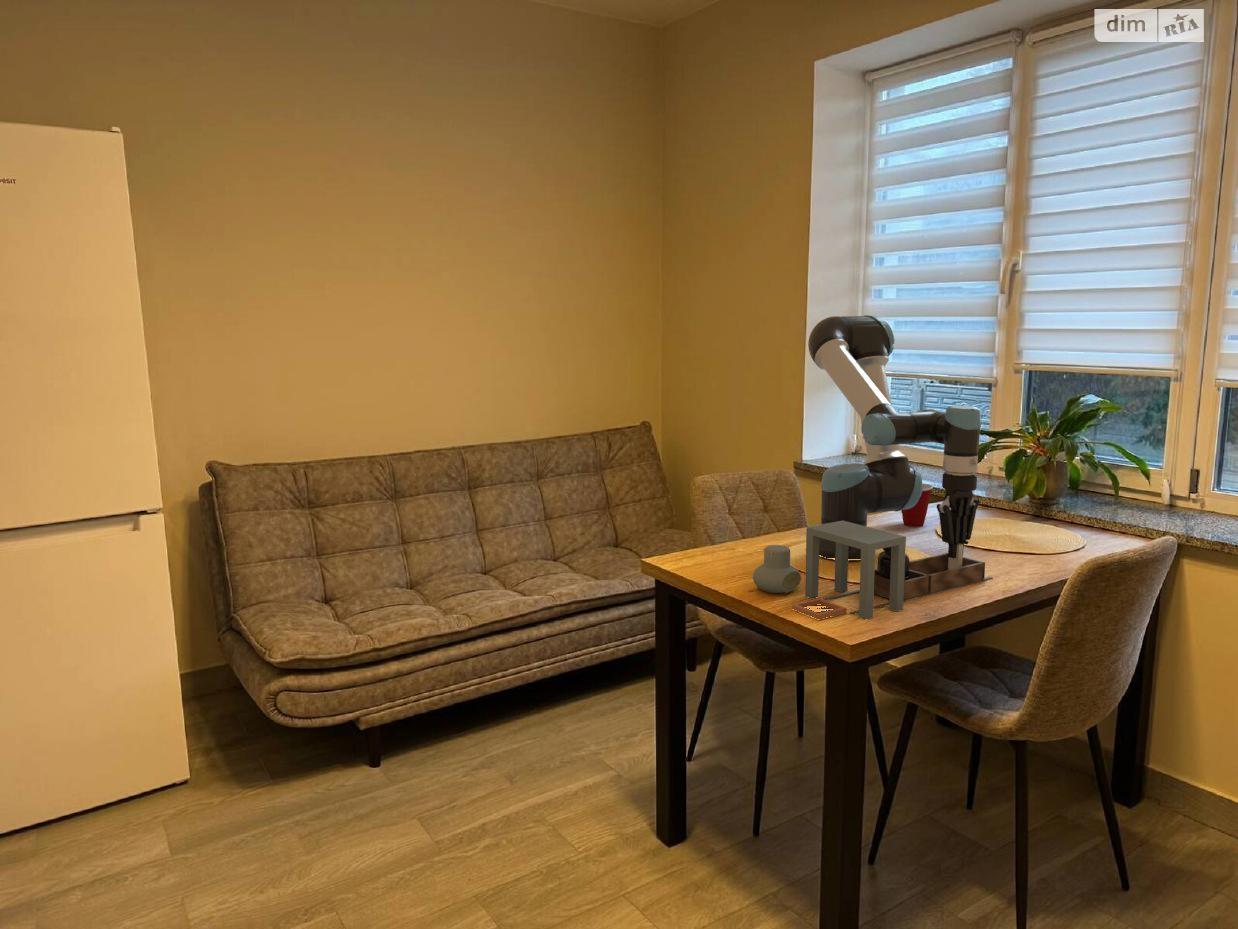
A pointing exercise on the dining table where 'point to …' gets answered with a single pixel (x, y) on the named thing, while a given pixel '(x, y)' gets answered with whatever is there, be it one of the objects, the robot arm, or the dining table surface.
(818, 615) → the frame
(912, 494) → the robot arm
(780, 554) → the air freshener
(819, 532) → the tunnel
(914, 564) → the divided wooden tray
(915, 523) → the plastic cup
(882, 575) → the supplement bottle
